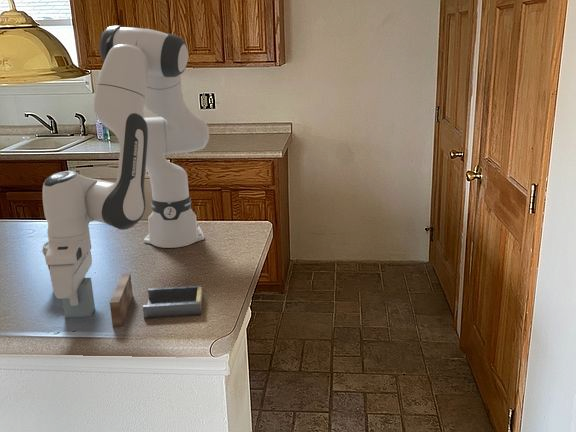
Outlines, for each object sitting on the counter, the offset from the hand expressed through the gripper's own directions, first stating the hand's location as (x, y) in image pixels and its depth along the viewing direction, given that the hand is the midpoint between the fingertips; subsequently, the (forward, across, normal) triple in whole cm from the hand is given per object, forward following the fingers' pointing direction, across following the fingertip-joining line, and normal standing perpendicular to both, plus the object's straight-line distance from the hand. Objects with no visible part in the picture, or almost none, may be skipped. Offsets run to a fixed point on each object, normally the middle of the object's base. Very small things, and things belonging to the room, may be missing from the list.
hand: (78, 298), depth 134 cm
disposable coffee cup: (+4, -16, -7) cm, 18 cm away
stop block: (+4, 0, 0) cm, 4 cm away
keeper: (+4, 0, +22) cm, 22 cm away
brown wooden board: (+4, 0, +10) cm, 11 cm away
